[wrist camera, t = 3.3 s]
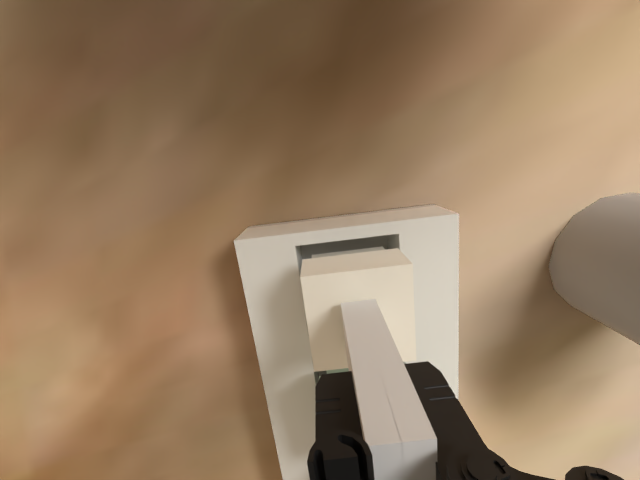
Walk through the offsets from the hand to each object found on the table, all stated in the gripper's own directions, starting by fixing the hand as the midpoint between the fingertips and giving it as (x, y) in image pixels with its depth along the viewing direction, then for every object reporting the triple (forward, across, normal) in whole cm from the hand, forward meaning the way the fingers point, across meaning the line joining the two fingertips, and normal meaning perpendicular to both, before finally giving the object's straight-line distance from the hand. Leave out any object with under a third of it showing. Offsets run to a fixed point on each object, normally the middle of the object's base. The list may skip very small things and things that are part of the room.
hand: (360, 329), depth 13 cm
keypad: (+8, 0, -10) cm, 13 cm away
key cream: (+5, 0, 0) cm, 5 cm away
